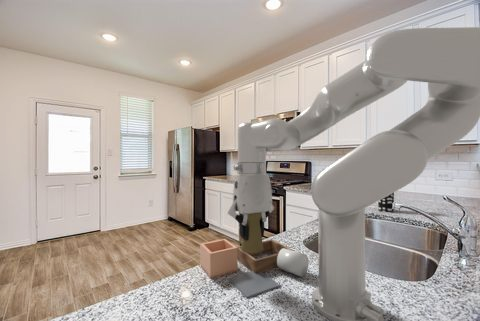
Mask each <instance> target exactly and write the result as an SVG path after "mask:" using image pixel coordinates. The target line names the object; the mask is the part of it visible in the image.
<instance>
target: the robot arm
mask: <svg viewBox="0 0 480 321" xmlns="http://www.w3.org/2000/svg"><path fill="white" fill-rule="evenodd" d="M408 81H410V82H419V83H427V90H428V98H427V102H426V103H425V105H424V106H423V107H422V108H420V109H419V110H418V111H416V112H414V113H413V114H411V115H410V116H409V117H407V118H406V119H404V120H403V121H402V122H400V123H399V124H397V125H396V126H394V127H392V128H391V129H389V130H384V131H382V132H379V133H376V134H375V135H373V136H372V137H370V138H368V139H367V140H365V141H363V143H361V144H360V145H358V146H356V147H355V148H354V149H352V150H351V151H349V152H347V153H346V154H344V155H343V156H341V157H340V158H339V159H337V160H336V161H334V162H333V163H331V164H329V165H328V166H326V167H325V168H323V169H322V170H321V171H320V172H318V173H317V174H316V176H315V177H314V178H313V181H312V184H311V186H310V187H311V189H310V190H311V198H312V201H313V203H314V204H315V206H316V207H317V208H318V224H317V226H318V228H317V229H318V233H317V235H318V237H317V239H318V242H317V243H318V244H317V245H318V246H317V247H318V250H317V251H318V287H317V288H316V289H315V290H313V292H312V293H311V303H312V304H313V305H312V306H313V307H314V308H315V310H317V312H318V313H320V315H322V316H323V317H325V318H326V319H329V320H331V321H384V315H383V314H384V312H385V311H384V308H382V307H380V306H378V305H376V304H374V303H373V302H372V300H371V297H372V295H371V292H368V291H366V245H365V244H366V216H365V215H366V214H365V212H366V211H365V209H366V208H368V207H370V206H372V205H373V204H375V203H377V202H378V201H379V200H381V199H383V198H385V197H387V196H388V195H390V194H392V193H394V194H395V192H398V191H399V190H401V189H403V188H404V187H406V186H408V185H409V184H411V183H412V182H414V181H416V179H417V178H419V176H421V174H423V172H424V171H425V169H426V167H427V164H428V160H430V159H431V158H434V157H435V156H436V155H438V154H441V152H444V151H445V150H446V149H448V148H450V147H451V146H453V145H454V144H456V143H457V142H460V141H461V140H462V139H464V138H465V137H466V136H467V135H469V133H470V132H471V131H473V129H474V128H475V126H476V125H477V124H478V122H479V120H480V26H476V27H473V26H472V27H467V26H466V27H465V26H464V27H417V28H405V29H398V30H393V31H389V32H387V33H384V34H383V35H380V36H379V37H378V38H377V39H375V40H374V41H372V43H371V44H370V46H369V47H368V49H367V52H366V56H365V60H364V61H362V62H361V63H359V64H358V65H356V66H354V67H353V68H352V69H350V70H348V71H347V72H345V73H343V74H342V75H341V76H339V77H337V78H336V79H333V81H331V82H329V83H327V84H326V85H325V86H324V87H323V86H322V88H321V89H320V90H319V92H318V93H317V95H316V97H315V98H314V101H313V102H312V103H311V105H310V106H308V108H307V109H305V110H304V111H303V112H301V113H300V114H299V115H297V116H296V117H294V118H292V119H290V120H289V121H286V120H284V119H282V118H270V119H267V120H263V121H258V122H254V121H253V122H243V123H240V124H239V125H238V128H237V164H236V165H234V166H233V170H234V171H237V172H236V173H237V174H235V178H234V183H233V190H232V192H233V194H232V204H231V206H230V208H229V210H228V211H227V214H228V216H230V217H231V218H234V219H235V221H237V223H238V224H239V236H240V238H241V239H242V238H243V239H244V240H246V241H247V240H248V239H249V226H248V225H247V218H248V214H253V213H260V212H261V214H262V216H261V219H260V228H261V236H262V238H264V236H265V223H266V222H267V218H268V217H269V215H270V214H271V213H272V212H273V211H274V210H275V206H274V205H273V194H272V183H271V179H270V175H269V174H268V173H267V161H266V160H267V159H266V158H267V156H266V155H267V149H268V150H275V151H291V150H293V149H295V148H298V147H299V146H301V145H303V144H305V143H306V142H309V141H310V140H313V139H314V138H315V137H317V136H319V135H320V134H323V133H324V132H325V131H327V130H328V129H331V127H333V126H335V125H336V124H338V123H340V122H341V121H343V120H344V119H346V118H348V117H349V116H351V115H354V114H355V113H356V112H358V111H360V110H362V109H364V108H366V107H367V106H369V105H371V104H373V103H374V102H377V101H378V100H380V99H382V98H384V97H386V96H388V95H389V94H391V93H392V92H395V91H396V90H398V89H399V88H402V86H404V85H405V84H406V83H407V82H408ZM237 212H238V213H237Z"/></svg>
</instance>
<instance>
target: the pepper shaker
mask: <svg viewBox="0 0 480 321" xmlns="http://www.w3.org/2000/svg"><path fill="white" fill-rule="evenodd" d="M261 216H262V214H261V212H260V213H253V214H248V218H247V225H248V226H249V239H248V240H247V241H246V240H244V239H243V238H241V245H240V247H241V250H242V251H243V252H246V253H259V252H261V251H263V243H262V242H263V237H262V236H261V228H260V219H261Z"/></svg>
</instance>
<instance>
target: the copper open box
mask: <svg viewBox="0 0 480 321" xmlns="http://www.w3.org/2000/svg"><path fill="white" fill-rule="evenodd" d="M237 247H238V246H236V245H234V244H233V243H231V242H230V241H229V240H227V239H226V238H223V239H218V240H213V241H208V242H202V243H200V244H199V248H200V249H199V256H200V257H199V258H200V260H199V261H200V262H199V263H200V265H199V266H200V268H201V269H202V270H203V271H204V273H205V274H206V275H207V276H208V278H209V279H210V280H211V279H215V278H218V277H223V276H225V275H229V274H232V273H235V272H238V271H239V270H238V262H239V261H238V260H237Z"/></svg>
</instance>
